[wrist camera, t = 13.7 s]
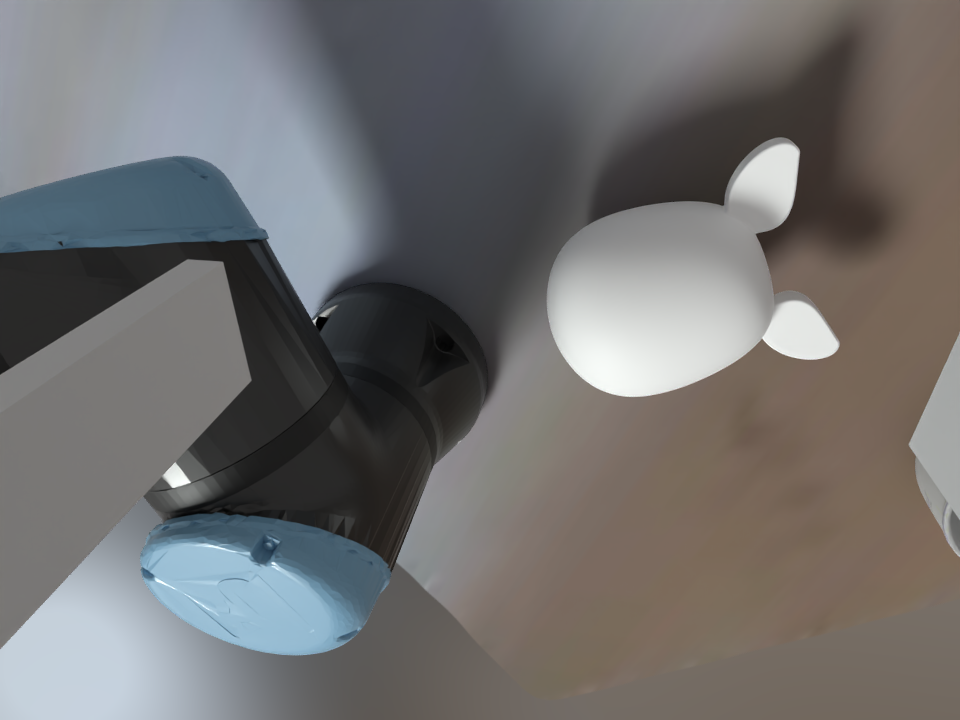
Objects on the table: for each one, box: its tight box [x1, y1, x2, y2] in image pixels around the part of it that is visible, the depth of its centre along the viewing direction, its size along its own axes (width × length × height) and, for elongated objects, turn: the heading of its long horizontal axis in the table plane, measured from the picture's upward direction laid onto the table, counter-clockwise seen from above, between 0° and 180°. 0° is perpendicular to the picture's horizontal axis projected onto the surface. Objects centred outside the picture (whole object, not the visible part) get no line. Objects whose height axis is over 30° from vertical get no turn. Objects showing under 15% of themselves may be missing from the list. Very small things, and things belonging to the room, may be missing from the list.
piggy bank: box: [547, 137, 840, 397], centre depth 35 cm, size 12×12×15 cm
